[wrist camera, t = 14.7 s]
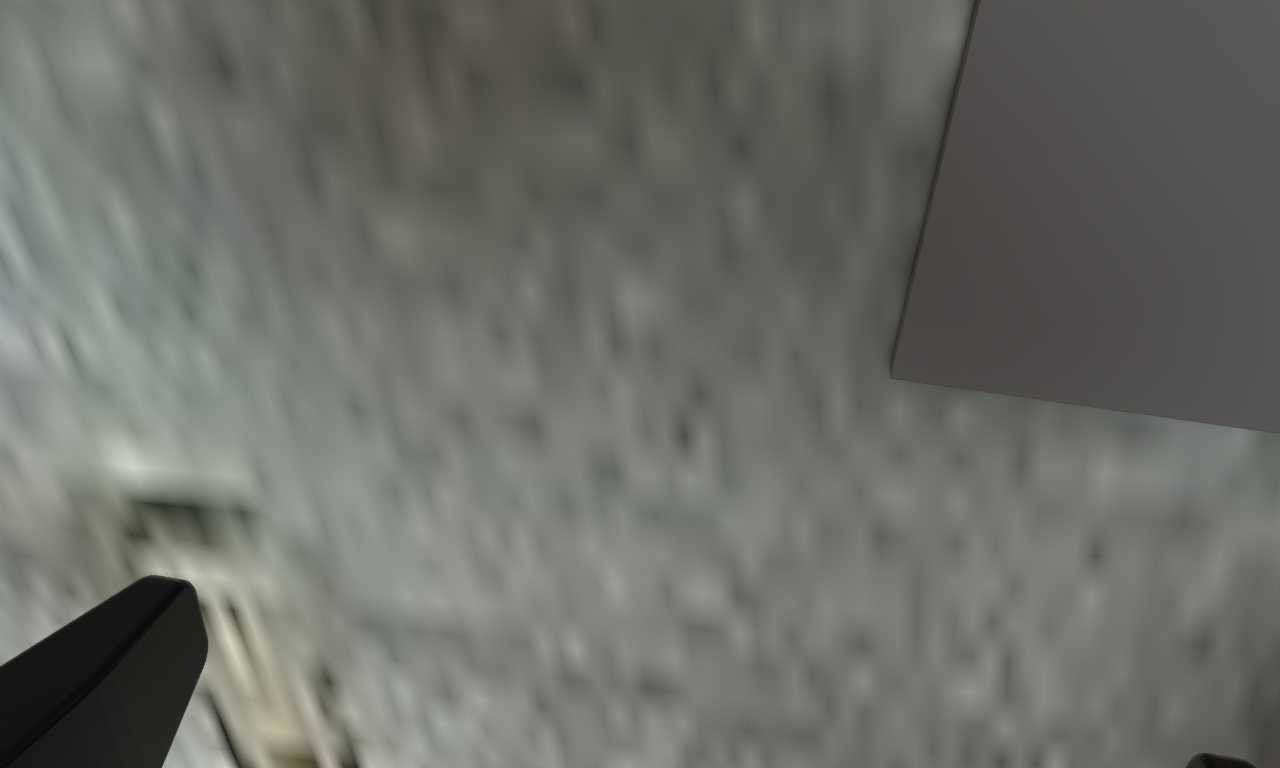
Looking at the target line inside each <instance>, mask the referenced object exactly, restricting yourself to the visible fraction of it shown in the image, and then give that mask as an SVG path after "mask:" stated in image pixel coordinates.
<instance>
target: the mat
mask: <svg viewBox="0 0 1280 768" xmlns="http://www.w3.org/2000/svg"><path fill="white" fill-rule="evenodd" d="M890 377H891V378H892V379H899V380H906V381H913V382H920V383H927V384H934V385H941V386H948V387H955V388H962V389H969V390H976V391H983V392H990V393H997V394H1004V395H1011V396H1018V397H1025V398H1032V399H1039V400H1046V401H1053V402H1060V403H1067V404H1074V405H1081V406H1088V407H1095V408H1102V409H1109V410H1116V411H1123V412H1130V413H1138V414H1145V415H1152V416H1159V417H1166V418H1173V419H1180V420H1187V421H1194V422H1201V423H1208V424H1215V425H1222V426H1229V427H1236V428H1243V429H1250V430H1257V431H1264V432H1271V433H1278V434H1280V0H977V1H976V6H975V10H974V14H973V18H972V23H971V27H970V31H969V35H968V39H967V44H966V48H965V52H964V56H963V61H962V65H961V69H960V73H959V78H958V82H957V86H956V90H955V94H954V99H953V103H952V107H951V111H950V116H949V120H948V124H947V128H946V132H945V137H944V141H943V145H942V149H941V154H940V158H939V162H938V166H937V171H936V175H935V179H934V183H933V187H932V192H931V196H930V200H929V204H928V209H927V213H926V217H925V221H924V226H923V230H922V234H921V238H920V242H919V247H918V251H917V255H916V259H915V264H914V268H913V272H912V276H911V281H910V285H909V289H908V293H907V297H906V302H905V306H904V310H903V314H902V319H901V323H900V327H899V331H898V336H897V340H896V344H895V348H894V352H893V357H892V361H891V365H890Z"/></svg>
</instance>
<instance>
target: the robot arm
mask: <svg viewBox="0 0 1280 768" xmlns="http://www.w3.org/2000/svg"><path fill="white" fill-rule="evenodd" d="M207 653H208V637H207V633H206V629H205V624H204V620H203V616H202V612H201V608H200V604H199V600H198V596H197V593H196V590H195V587H194V586H193V585H192V584H191V583H190V582H189V581H186V580H182V579H176V578H170V577H164V576H158V575H150V576H146V577H143V578H141V579H139V580H137V581H135V582H134V583H132V584H131V585H129V586H127V587H126V588H124V589H123V590H121V591H119V592H118V593H116V594H115V595H113V596H111V597H110V598H108V599H107V600H105V601H103V602H102V603H100V604H99V605H97V606H96V607H94V608H92V609H91V610H89V611H88V612H86V613H84V614H83V615H81V616H80V617H78V618H76V619H75V620H73V621H72V622H70V623H68V624H67V625H65V626H64V627H62V628H60V629H59V630H57V631H56V632H54V633H52V634H51V635H49V636H48V637H46V638H45V639H43V640H41V641H40V642H38V643H37V644H35V645H33V646H32V647H30V648H29V649H27V650H25V651H24V652H22V653H21V654H19V655H17V656H16V657H14V658H13V659H11V660H9V661H8V662H6V663H5V664H3V665H2V666H0V768H162V766H163V764H164V761H165V759H166V757H167V754H168V752H169V749H170V747H171V745H172V742H173V740H174V737H175V735H176V732H177V730H178V728H179V725H180V723H181V720H182V718H183V716H184V713H185V711H186V708H187V706H188V704H189V701H190V699H191V696H192V694H193V692H194V689H195V687H196V684H197V682H198V679H199V677H200V675H201V672H202V670H203V667H204V665H205V662H206V658H207ZM1186 768H1255V767H1254V766H1253V765H1252V764H1250V763H1249V762H1247V761H1245V760H1242V759H1239V758H1233V757H1227V756H1221V755H1215V754H1210V753H1199V754H1197V755H1195V756H1194V757H1192V759H1191V760H1190V761H1189V763H1188V764H1187V766H1186Z"/></svg>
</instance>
